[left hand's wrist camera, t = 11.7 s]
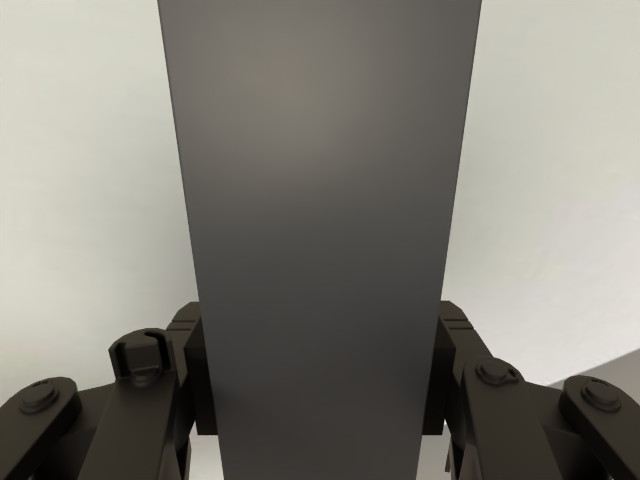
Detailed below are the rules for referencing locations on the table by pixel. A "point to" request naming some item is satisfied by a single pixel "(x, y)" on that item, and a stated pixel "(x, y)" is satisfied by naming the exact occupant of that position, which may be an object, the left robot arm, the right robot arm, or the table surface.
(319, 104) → the plank
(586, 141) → the table surface
